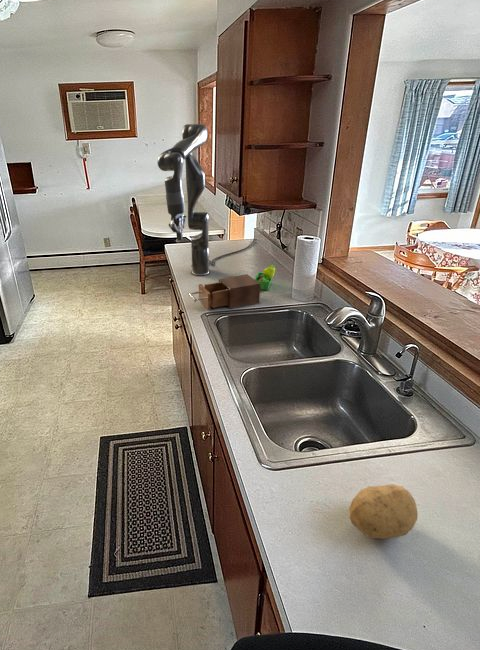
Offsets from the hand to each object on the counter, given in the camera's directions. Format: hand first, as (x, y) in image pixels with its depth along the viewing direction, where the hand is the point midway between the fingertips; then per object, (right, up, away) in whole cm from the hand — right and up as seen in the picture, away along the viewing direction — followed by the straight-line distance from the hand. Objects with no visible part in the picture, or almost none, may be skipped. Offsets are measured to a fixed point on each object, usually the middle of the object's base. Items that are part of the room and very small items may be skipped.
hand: (180, 239), depth 175 cm
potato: (+39, -72, -96) cm, 126 cm away
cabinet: (+27, -27, +4) cm, 39 cm away
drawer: (+14, -29, +1) cm, 32 cm away
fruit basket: (+42, -21, +18) cm, 50 cm away
